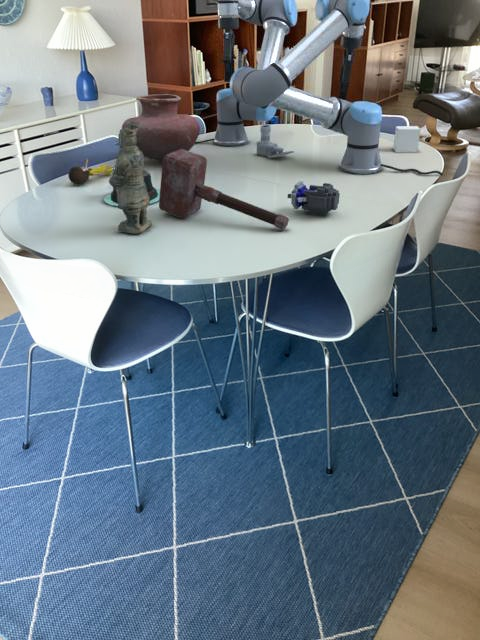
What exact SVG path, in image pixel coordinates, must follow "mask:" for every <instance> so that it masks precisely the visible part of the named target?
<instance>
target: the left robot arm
mask: <svg viewBox="0 0 480 640" xmlns="http://www.w3.org/2000/svg"><path fill="white" fill-rule="evenodd" d="M210 1H211V2H213V3H215V4H217V16H218V17H219V18H218V20H217V24H218V25H217V26H218V30H224V32H223V36H222V40H223V44H222V45H223V59H222V60H221V63H222V64H223V81H224V82H223V83H230V80H231V77H232V75H233V73H234V72H235V71H236V68H235V67H236V65H235V64H236V63H235V62H236V59H237V56H236V54H235V53H236V52H235V32H234V31H233V30H238V29H239V27H240V21H239V19H241V20H243V21H245V22H247V23H249V24H252V25H255V26H259V27H262V28H263V29H264V35H263V39H262V43H261V48H260V52H259V57H258V60H257V61H258V62H257V66H256V69H257V70H263V69H265V68H267V67H268V66H269V65H270V64H272V63H273V62H278V61H279V60H280V59H281V58H280V57H281V53H282V49H283V44H284V40H285V36H286V35H288V34H289V33H290V29H291V27H294V26H296V24H297V21H298V6H297V2H296V0H210ZM215 103H216V119H217V120H216V121H217V127H216V131H215V134H214V138H209V139H206V140H201V141H196V142H195V144H203V143H208V142H211V141H213V142H214V144H215V145H217V146H220V147H238V146H244V145H246V144H247V143H248V138H249V137H248V134H247V131H246V129H245V125H244V121H255V122H268V121H270V120H272V119H273V118H274V117H275V115H276V112H277V110H278V109H277V108H274V107H270V106H269V107H267V108H266V109H262V108H259V107H253V106H251V105H248V104H246V103H243V102H239V101H237V100H236V99H235V98H234V97H233V95H232V93H231V91H230V87H229V88H224V89H220V90H218V91H217V93H216V101H215Z"/></svg>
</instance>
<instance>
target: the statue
mask: <svg viewBox="0 0 480 640" xmlns="http://www.w3.org/2000/svg"><path fill="white" fill-rule="evenodd" d="M138 127H139V123H138V122H137V121H133V122H131V123H128V124H127V125H126V126H125V127H124V128H123V129H122V128H121V129H119V133H118V139H117V141H119V143H118V146H119V152H118V154H117V156H116V160H115V164H114V166H115V170H113V172H114V175H113V176H112V175H111V176H110V177H109V180H108V183H109V184H110V186H111V187H112V188H113V187H114V188H115V189H116V192H117V202H118V206H117V209H119V210H122V213H123V214H124V215H125V218H126V219H125V220H122V221H120V222H119V224H118V225H117V231H118V232H121V233H126V234H134V235H136V234H142V233H143V232H145V231H146V230H147V229H148V228H150V227H151V226H152V225H153V223H152V220H150V219H148V216H147V214H148V213H147V212H148V211H147V209H148V206H149V205H150V197H149V195H148V192H147V188H146V184H145V182H144V178H143V169H144V165H145V157H144V156H143V153H142V151H141V150H139V149H138V147H137V146H136V143H137V138H136V131H137V130H138Z"/></svg>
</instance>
